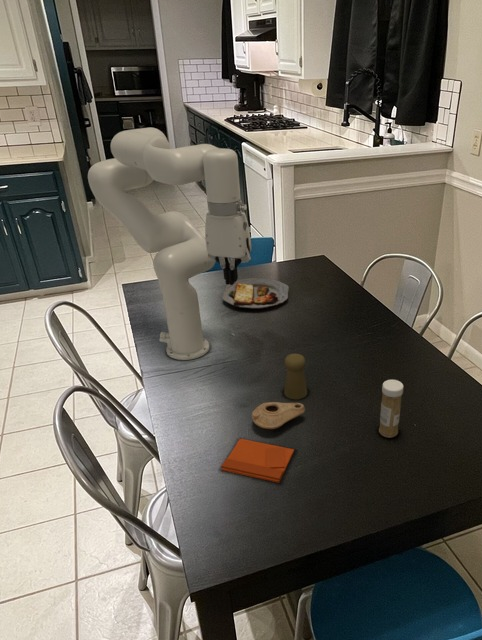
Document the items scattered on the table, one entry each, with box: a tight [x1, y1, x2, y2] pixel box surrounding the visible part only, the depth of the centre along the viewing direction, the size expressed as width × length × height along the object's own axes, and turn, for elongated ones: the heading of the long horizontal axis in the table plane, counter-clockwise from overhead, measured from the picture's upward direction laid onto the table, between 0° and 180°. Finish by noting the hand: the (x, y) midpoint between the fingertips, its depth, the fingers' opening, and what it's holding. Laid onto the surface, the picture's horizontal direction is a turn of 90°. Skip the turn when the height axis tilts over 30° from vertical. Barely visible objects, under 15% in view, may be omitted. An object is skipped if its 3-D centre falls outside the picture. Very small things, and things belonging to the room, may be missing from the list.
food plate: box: [221, 277, 290, 310], centre depth 180 cm, size 25×23×4 cm
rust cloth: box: [220, 438, 295, 484], centre depth 109 cm, size 13×10×1 cm
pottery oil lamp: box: [251, 401, 306, 430], centre depth 118 cm, size 9×12×7 cm
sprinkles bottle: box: [378, 379, 404, 439], centre depth 113 cm, size 5×5×14 cm
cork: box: [283, 353, 308, 400], centre depth 127 cm, size 6×6×11 cm
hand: (231, 282), depth 124 cm, fingers closed
